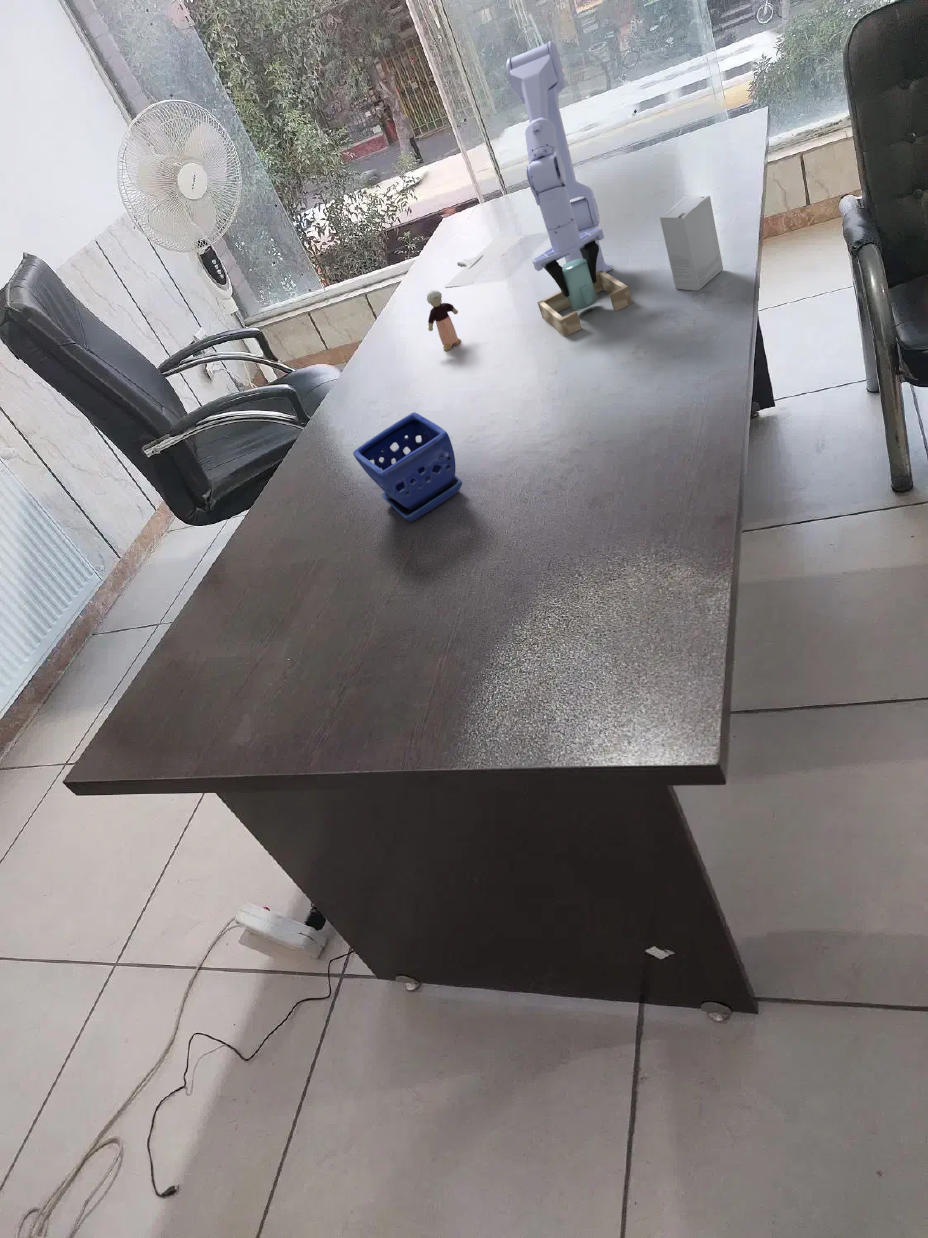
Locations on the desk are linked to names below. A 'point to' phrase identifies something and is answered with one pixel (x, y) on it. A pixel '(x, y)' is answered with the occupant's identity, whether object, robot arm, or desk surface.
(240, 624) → the desk surface
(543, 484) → the desk surface
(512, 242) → the white flat panel
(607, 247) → the desk surface
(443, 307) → the grandmother figurine
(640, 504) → the desk surface
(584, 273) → the teal cylinder with tab
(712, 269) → the skincare box
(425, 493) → the flower pot
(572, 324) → the cradle
